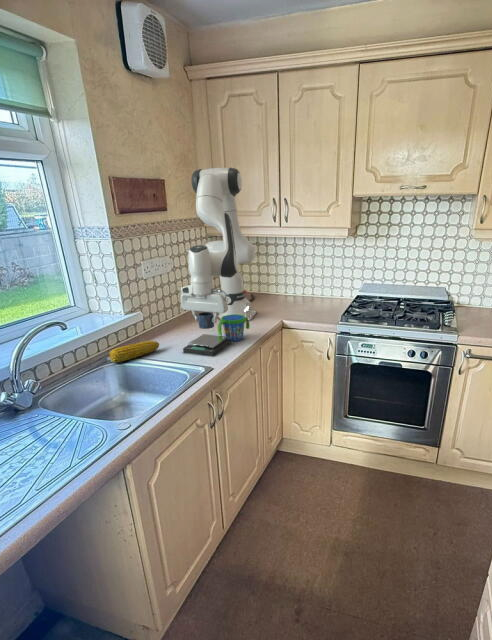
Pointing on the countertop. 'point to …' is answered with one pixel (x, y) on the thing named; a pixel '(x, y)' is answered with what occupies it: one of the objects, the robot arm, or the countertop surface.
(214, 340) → the scale pan
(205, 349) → the scale
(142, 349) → the food
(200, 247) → the robot arm
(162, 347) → the countertop surface
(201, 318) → the dark blue faceted pot
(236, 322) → the snack cup
